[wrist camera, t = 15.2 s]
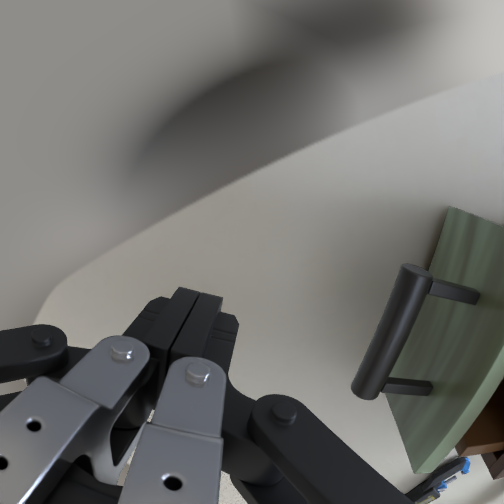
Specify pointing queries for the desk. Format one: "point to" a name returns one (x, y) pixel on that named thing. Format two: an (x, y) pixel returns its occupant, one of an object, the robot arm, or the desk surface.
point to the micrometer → (438, 482)
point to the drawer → (444, 347)
